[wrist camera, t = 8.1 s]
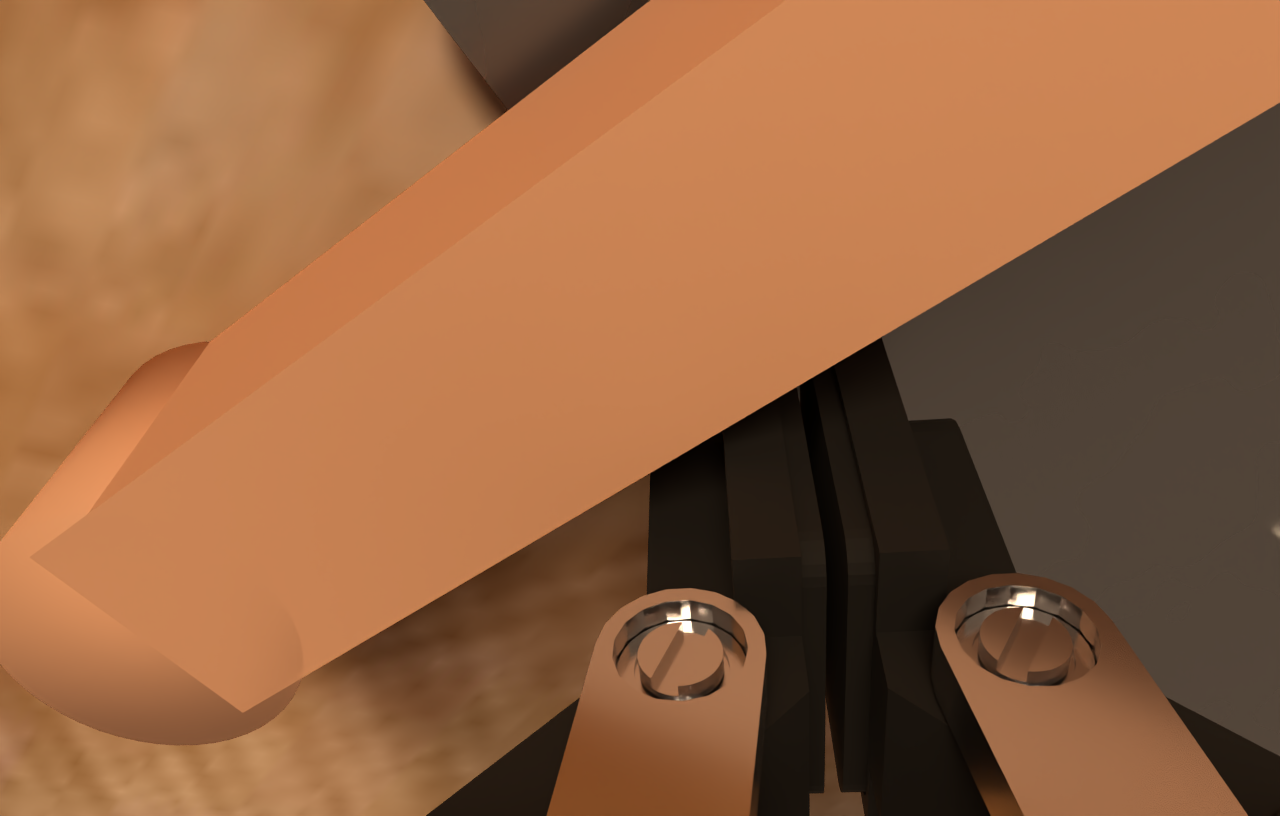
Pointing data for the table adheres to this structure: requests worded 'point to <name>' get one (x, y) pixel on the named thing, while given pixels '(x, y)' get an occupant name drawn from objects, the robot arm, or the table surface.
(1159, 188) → the panel
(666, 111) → the swing bar
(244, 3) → the table surface
